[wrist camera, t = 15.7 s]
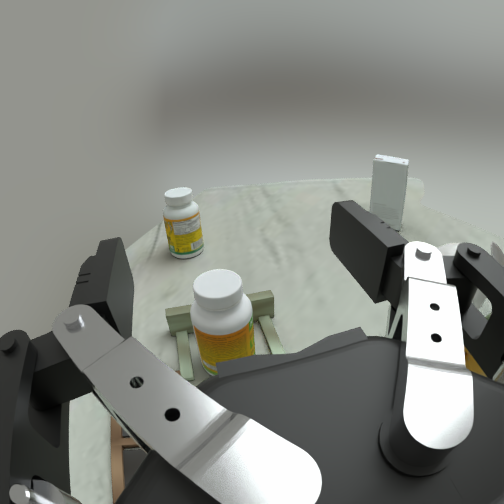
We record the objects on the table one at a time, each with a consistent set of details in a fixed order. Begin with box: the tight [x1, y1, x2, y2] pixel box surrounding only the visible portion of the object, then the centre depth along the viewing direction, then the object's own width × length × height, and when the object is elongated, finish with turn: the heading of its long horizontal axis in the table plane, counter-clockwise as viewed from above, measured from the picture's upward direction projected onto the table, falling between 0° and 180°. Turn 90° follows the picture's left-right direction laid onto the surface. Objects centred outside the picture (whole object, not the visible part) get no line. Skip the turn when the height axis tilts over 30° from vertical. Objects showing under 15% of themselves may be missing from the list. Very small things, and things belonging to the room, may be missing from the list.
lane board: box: [111, 290, 286, 504], centre depth 24 cm, size 25×18×3 cm
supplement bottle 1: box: [163, 187, 204, 259], centre depth 47 cm, size 5×5×10 cm
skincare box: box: [369, 154, 409, 231], centre depth 51 cm, size 6×4×12 cm
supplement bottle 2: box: [190, 269, 255, 376], centre depth 28 cm, size 5×5×10 cm
